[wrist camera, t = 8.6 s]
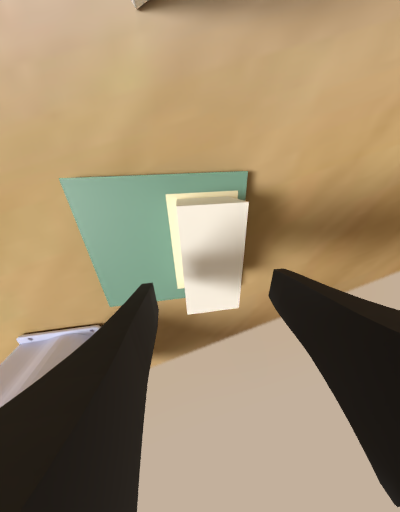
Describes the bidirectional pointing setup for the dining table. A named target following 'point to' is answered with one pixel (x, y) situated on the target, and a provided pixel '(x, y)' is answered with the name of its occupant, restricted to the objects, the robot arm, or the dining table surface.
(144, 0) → the small box
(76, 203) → the board
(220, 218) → the block
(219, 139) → the dining table surface
